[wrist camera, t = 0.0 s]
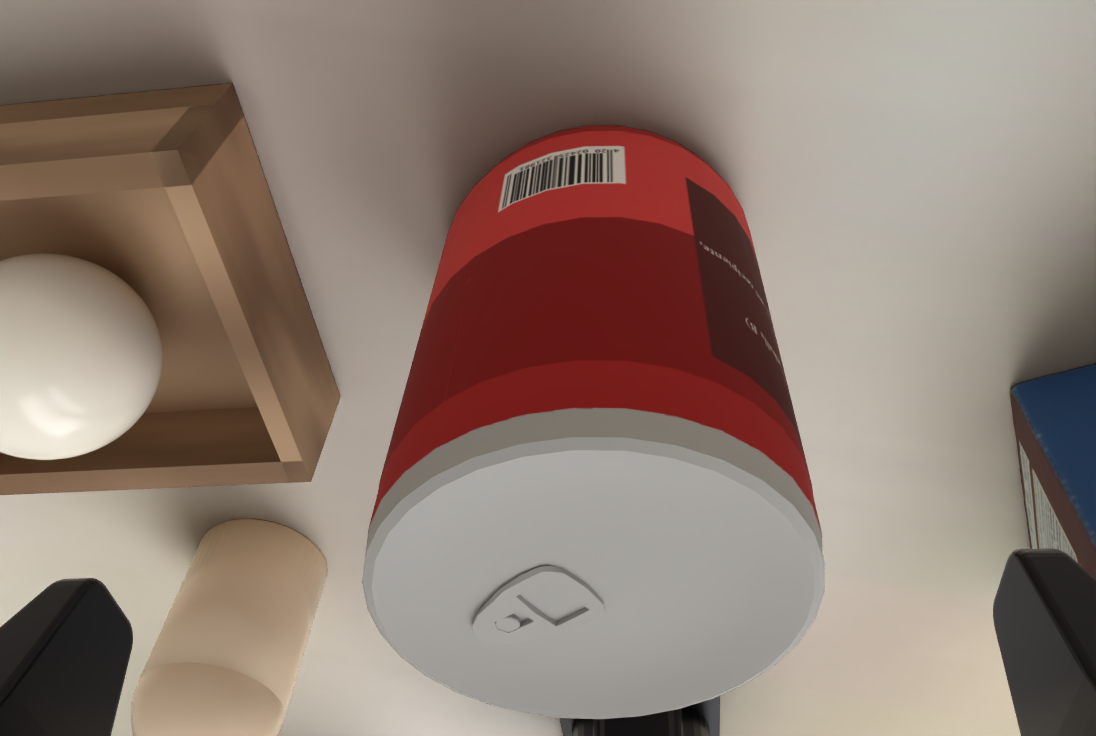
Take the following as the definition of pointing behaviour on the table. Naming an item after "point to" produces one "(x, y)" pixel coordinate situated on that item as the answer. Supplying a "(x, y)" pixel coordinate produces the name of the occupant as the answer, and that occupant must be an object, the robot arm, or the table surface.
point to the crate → (174, 284)
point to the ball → (71, 356)
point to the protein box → (1059, 461)
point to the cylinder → (233, 635)
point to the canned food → (596, 445)
